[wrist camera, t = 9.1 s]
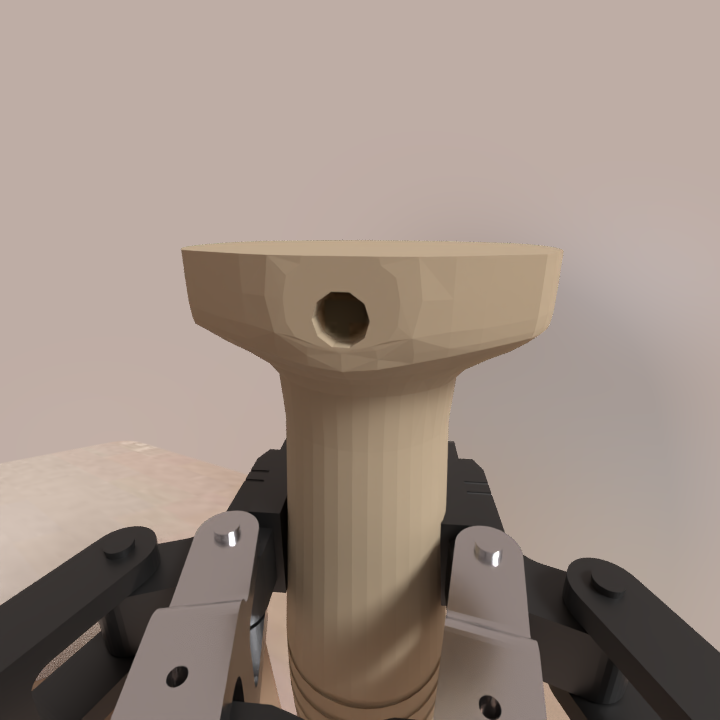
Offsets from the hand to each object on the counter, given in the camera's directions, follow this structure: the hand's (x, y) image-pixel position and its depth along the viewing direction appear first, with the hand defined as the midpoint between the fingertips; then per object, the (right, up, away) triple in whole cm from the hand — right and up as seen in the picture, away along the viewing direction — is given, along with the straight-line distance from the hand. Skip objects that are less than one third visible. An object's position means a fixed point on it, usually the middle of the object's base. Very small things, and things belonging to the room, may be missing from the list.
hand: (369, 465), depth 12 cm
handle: (0, -9, 0) cm, 9 cm away
